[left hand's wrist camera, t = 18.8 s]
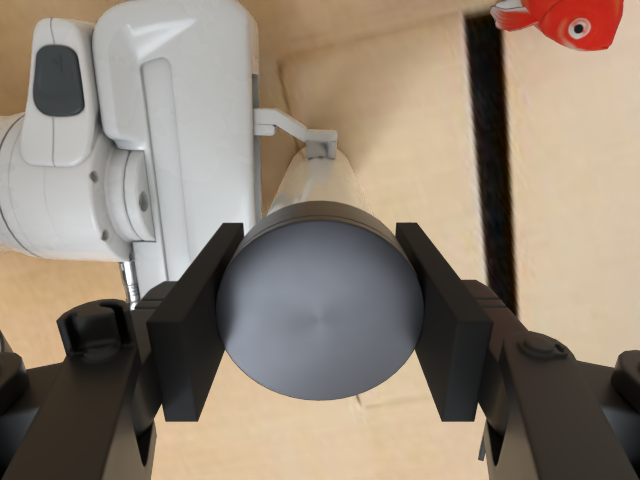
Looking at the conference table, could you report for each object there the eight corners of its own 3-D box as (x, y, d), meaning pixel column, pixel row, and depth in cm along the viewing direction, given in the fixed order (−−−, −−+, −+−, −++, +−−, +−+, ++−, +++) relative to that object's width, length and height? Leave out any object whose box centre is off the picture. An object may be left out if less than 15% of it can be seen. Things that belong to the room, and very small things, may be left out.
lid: (251, 176, 11) (238, 191, 9) (437, 229, 11) (459, 254, 9) (214, 337, 13) (197, 376, 11) (374, 375, 13) (382, 418, 11)
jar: (308, 218, 30) (290, 395, 12) (275, 164, 28) (199, 275, 10) (363, 188, 29) (432, 331, 11) (332, 130, 27) (356, 190, 10)
